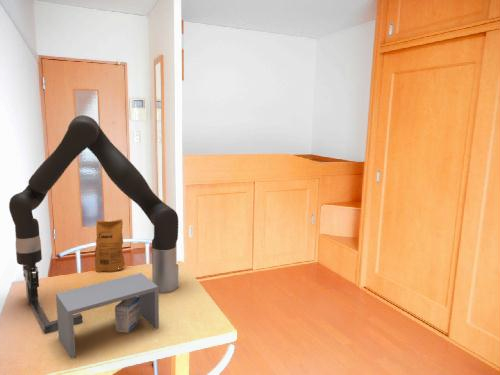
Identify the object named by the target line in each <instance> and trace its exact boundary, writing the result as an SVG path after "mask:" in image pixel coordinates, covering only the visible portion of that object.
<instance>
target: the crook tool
mask: <svg viewBox="0 0 500 375" xmlns="http://www.w3.org/2000/svg"><path fill="white" fill-rule="evenodd" d="M29 279H30V278H29ZM25 280H26V276H25V277H24V281H25ZM32 284H35V282H32ZM25 288H26V289H25V290H26V291H25V292H26V302H27V305H28V307H31V310H32V312H33V313H34V315H35V318H36V319H37V321H38V323H39V325H40V327H41V329H42V331H43V333H44V334H45V335H47V334H50V333H53V332H56V331H58V319H54V320H52V321H50V320H49V318H48V316H47V315H46V313H45V311H44V309H43V308H42V306H41V304H40V303H39V296H38V297H35V298H31V297H30V288H29V282H27V280H26V281H25ZM37 291H38V288H37ZM30 305H31V306H30ZM73 321H74V326H76V325H80V324H83V322H84V321H83V314H82V312H80V313H76V314H73Z"/></svg>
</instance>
